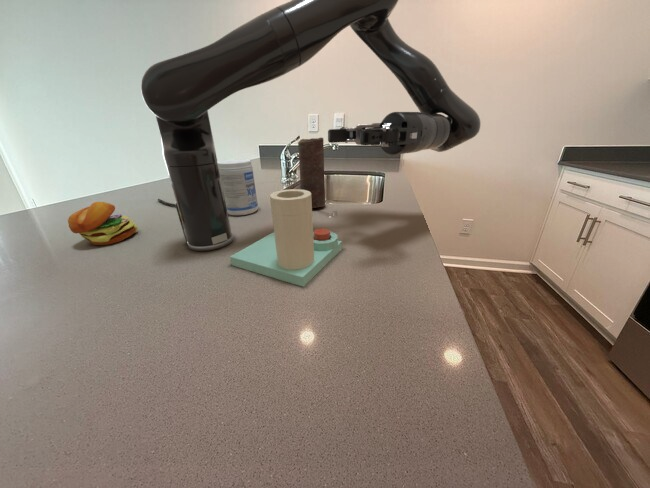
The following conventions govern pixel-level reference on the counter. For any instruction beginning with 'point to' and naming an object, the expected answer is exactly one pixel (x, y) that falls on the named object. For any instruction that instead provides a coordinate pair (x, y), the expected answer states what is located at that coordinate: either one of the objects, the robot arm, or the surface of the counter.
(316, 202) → the candle
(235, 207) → the supplement tub
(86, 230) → the cheeseburger
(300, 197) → the jar
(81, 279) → the counter surface
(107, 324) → the counter surface
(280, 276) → the scale
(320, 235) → the tare button
